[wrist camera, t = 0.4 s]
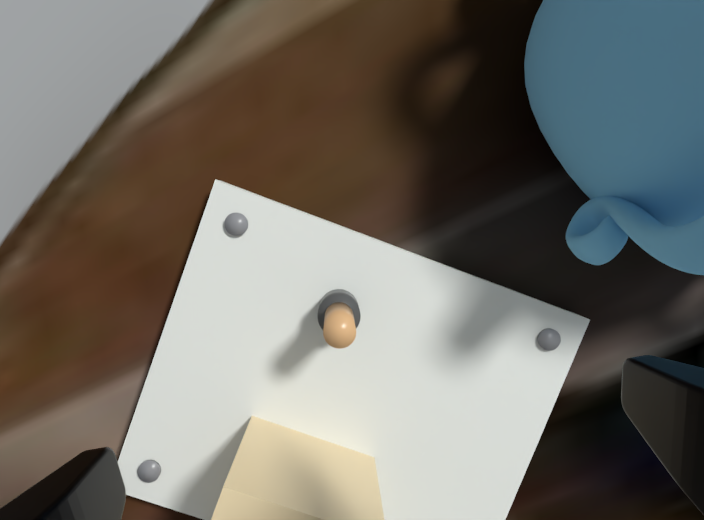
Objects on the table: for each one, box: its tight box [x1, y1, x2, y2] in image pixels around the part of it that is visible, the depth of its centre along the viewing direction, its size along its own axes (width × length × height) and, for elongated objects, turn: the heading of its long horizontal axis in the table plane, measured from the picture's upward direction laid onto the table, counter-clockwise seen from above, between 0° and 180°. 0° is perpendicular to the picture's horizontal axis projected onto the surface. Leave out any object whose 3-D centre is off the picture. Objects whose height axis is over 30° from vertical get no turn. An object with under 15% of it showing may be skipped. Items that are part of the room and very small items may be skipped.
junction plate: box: [118, 179, 590, 520], centre depth 21 cm, size 15×18×5 cm
